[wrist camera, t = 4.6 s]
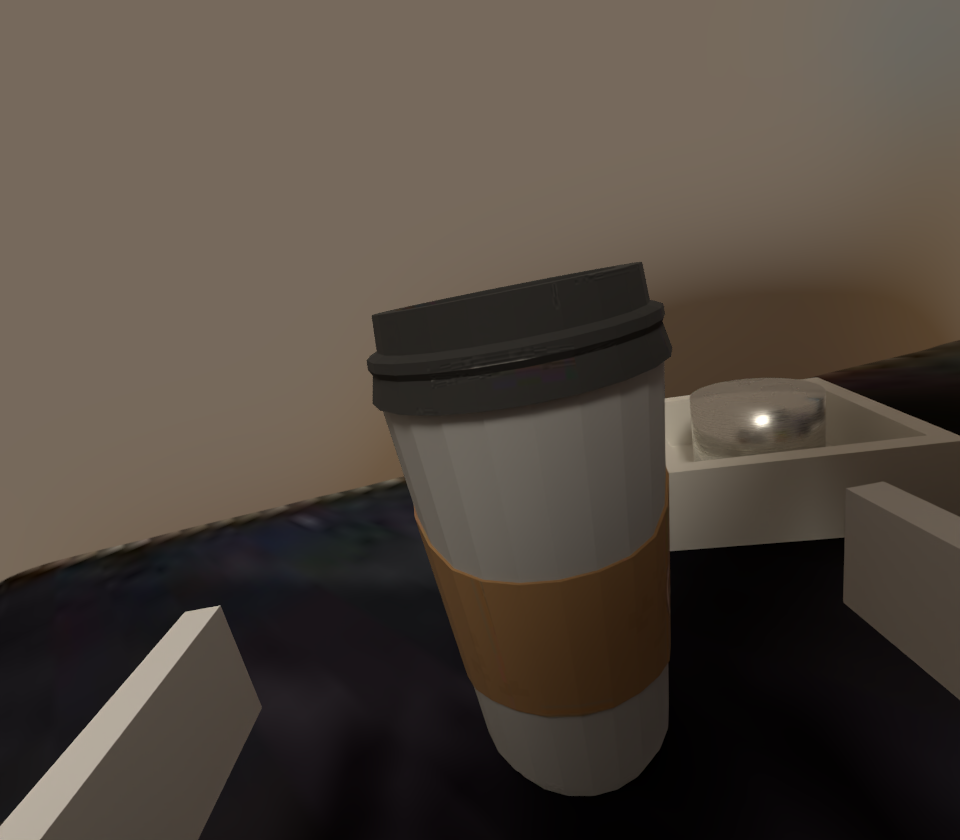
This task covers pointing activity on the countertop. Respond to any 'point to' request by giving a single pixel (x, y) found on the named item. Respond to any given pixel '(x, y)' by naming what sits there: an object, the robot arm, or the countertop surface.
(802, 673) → the countertop surface
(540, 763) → the coffee cup
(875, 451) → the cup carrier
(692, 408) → the metal tin
